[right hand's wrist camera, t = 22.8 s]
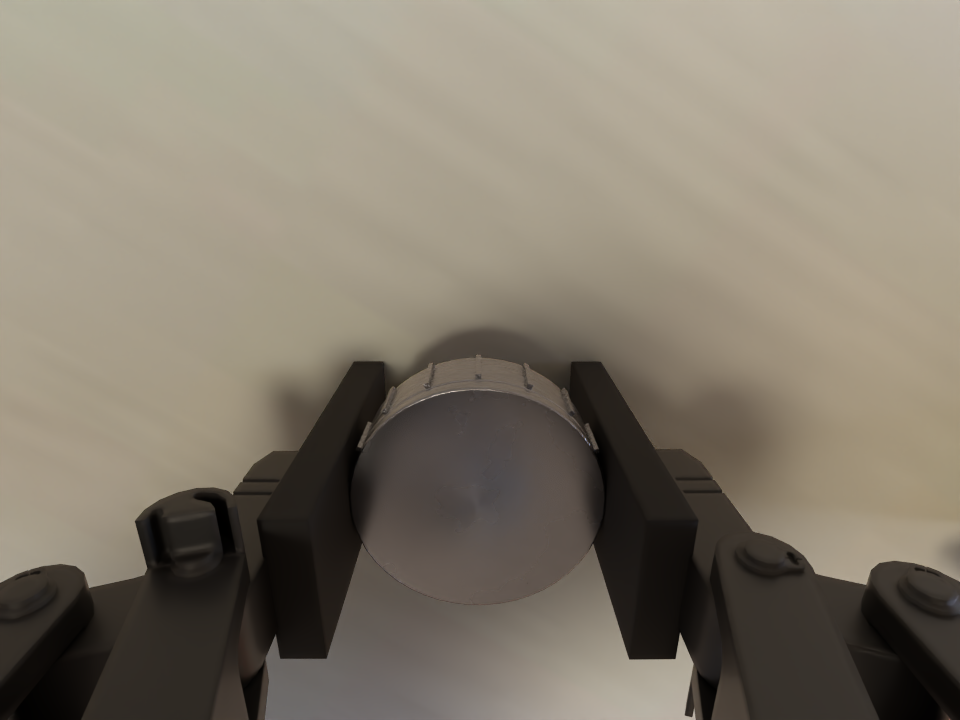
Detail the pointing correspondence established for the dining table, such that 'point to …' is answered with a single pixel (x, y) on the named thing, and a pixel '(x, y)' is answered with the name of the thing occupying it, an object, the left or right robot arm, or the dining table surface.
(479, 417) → the lid
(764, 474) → the dining table surface
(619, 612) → the right robot arm
